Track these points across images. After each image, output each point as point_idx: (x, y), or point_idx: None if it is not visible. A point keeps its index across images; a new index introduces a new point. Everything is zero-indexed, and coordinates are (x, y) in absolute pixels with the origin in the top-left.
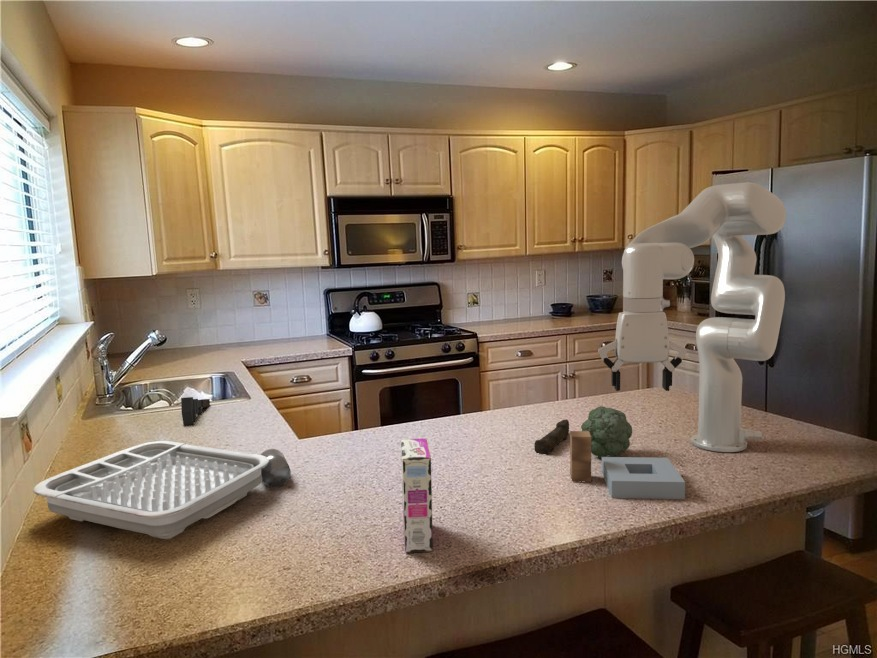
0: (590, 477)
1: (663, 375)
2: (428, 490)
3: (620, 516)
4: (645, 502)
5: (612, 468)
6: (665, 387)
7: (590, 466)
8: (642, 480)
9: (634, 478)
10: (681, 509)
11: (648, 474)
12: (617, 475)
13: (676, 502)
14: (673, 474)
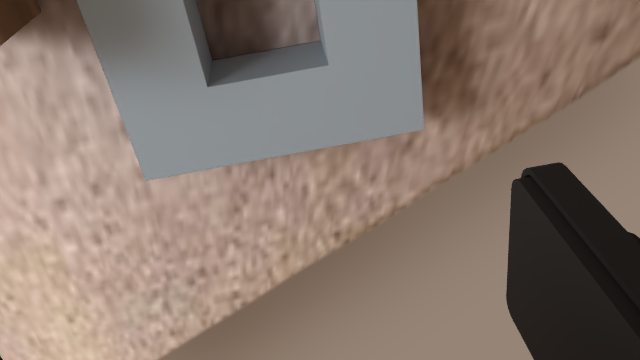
0: (30, 19)
1: (594, 346)
2: None
3: (202, 261)
4: None
5: (122, 41)
6: (519, 327)
7: (10, 35)
8: (263, 150)
9: (231, 138)
10: (381, 178)
11: (288, 81)
12: (159, 121)
13: None
14: (393, 57)
